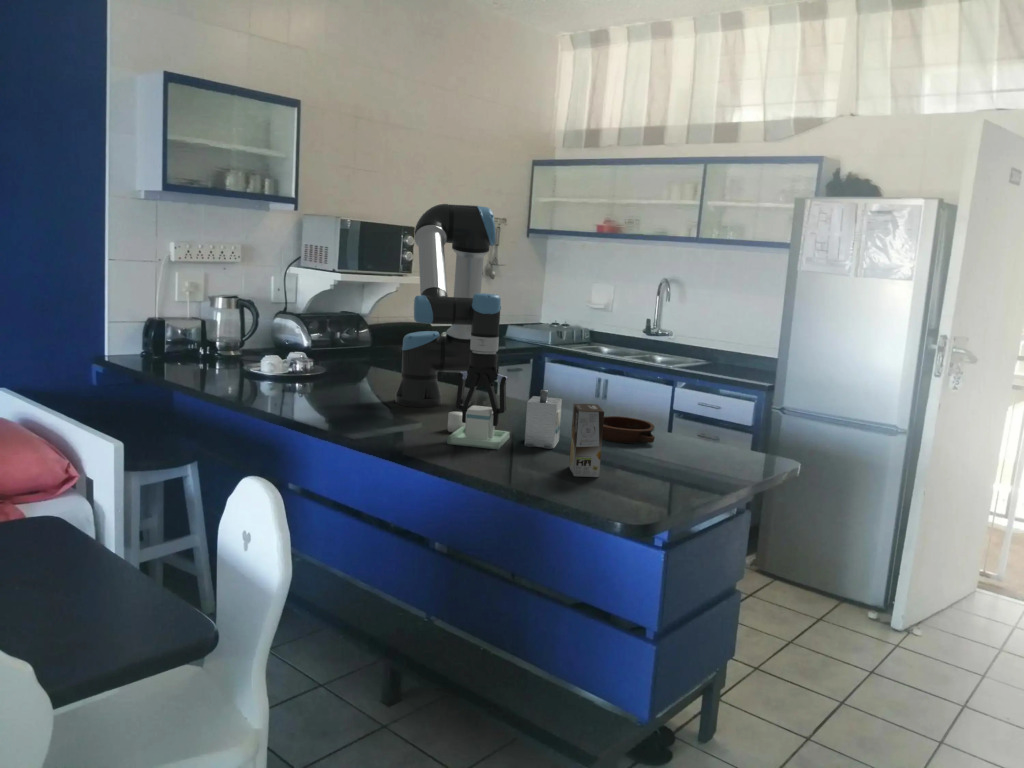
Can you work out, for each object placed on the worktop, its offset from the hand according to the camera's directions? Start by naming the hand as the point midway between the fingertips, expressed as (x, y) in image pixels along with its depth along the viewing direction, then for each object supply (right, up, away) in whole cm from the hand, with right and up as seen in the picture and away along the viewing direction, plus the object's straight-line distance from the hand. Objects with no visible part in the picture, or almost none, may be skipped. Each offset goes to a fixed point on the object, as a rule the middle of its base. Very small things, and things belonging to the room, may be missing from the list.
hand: (479, 435), depth 225 cm
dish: (+40, -2, +13) cm, 43 cm away
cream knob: (-7, +1, +11) cm, 13 cm away
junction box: (+17, -2, +2) cm, 17 cm away
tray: (0, -1, 0) cm, 1 cm away
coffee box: (+26, -7, -24) cm, 36 cm away
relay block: (0, 0, 0) cm, 0 cm away
